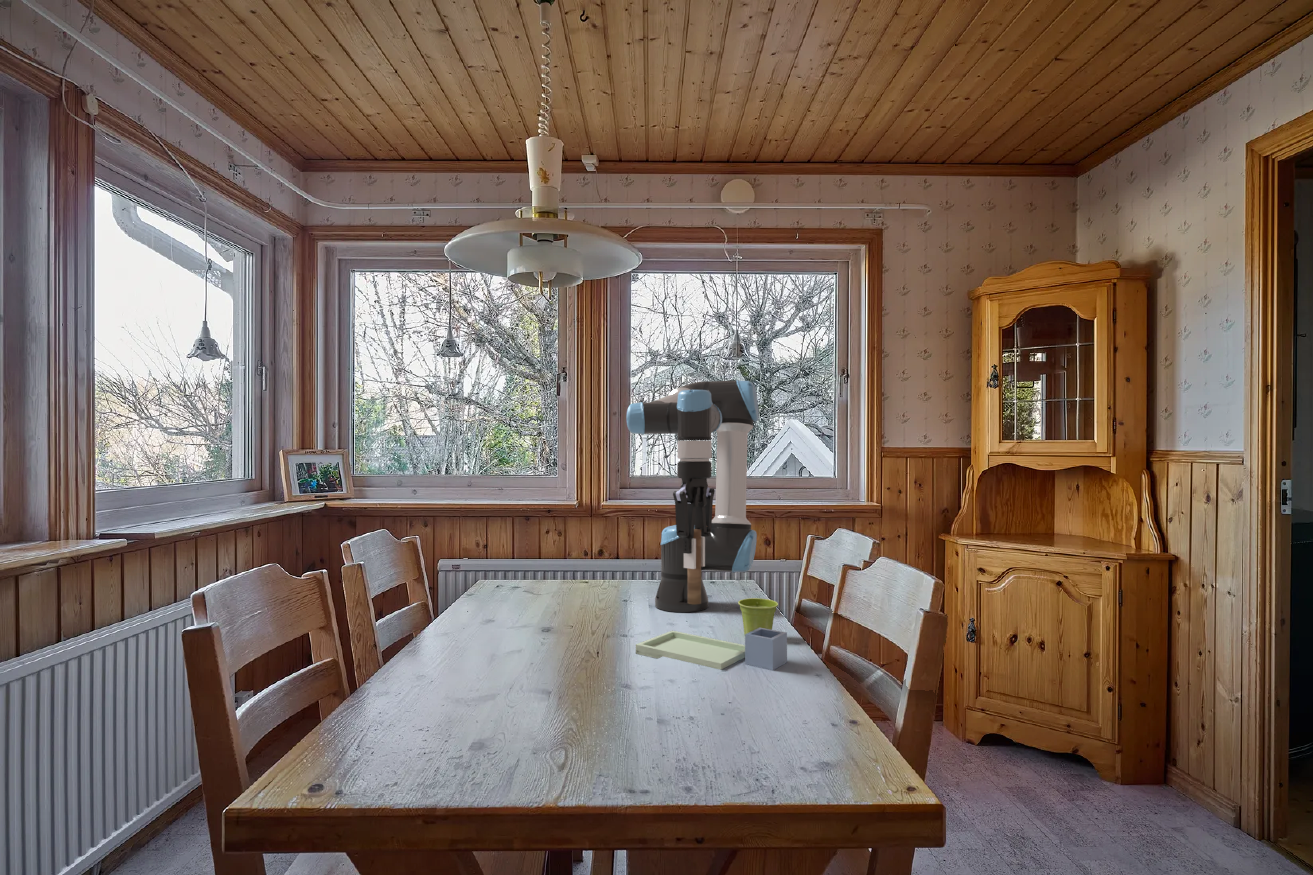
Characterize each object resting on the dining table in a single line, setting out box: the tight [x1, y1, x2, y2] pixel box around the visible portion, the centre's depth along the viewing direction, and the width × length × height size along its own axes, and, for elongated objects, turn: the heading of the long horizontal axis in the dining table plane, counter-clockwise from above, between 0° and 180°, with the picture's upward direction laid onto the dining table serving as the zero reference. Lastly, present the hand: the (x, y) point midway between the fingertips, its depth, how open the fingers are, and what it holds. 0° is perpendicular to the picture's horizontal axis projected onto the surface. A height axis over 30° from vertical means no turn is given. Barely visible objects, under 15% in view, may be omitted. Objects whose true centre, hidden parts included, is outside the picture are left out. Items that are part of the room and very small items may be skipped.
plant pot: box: [737, 597, 779, 636], centre depth 165 cm, size 9×9×9 cm
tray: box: [635, 630, 745, 670], centre depth 153 cm, size 14×22×2 cm, turn 53°
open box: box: [744, 628, 788, 672], centre depth 144 cm, size 6×6×7 cm
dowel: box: [688, 529, 701, 604], centre depth 153 cm, size 3×3×16 cm
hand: (694, 566), depth 153 cm, fingers closed on dowel, 3 cm apart
